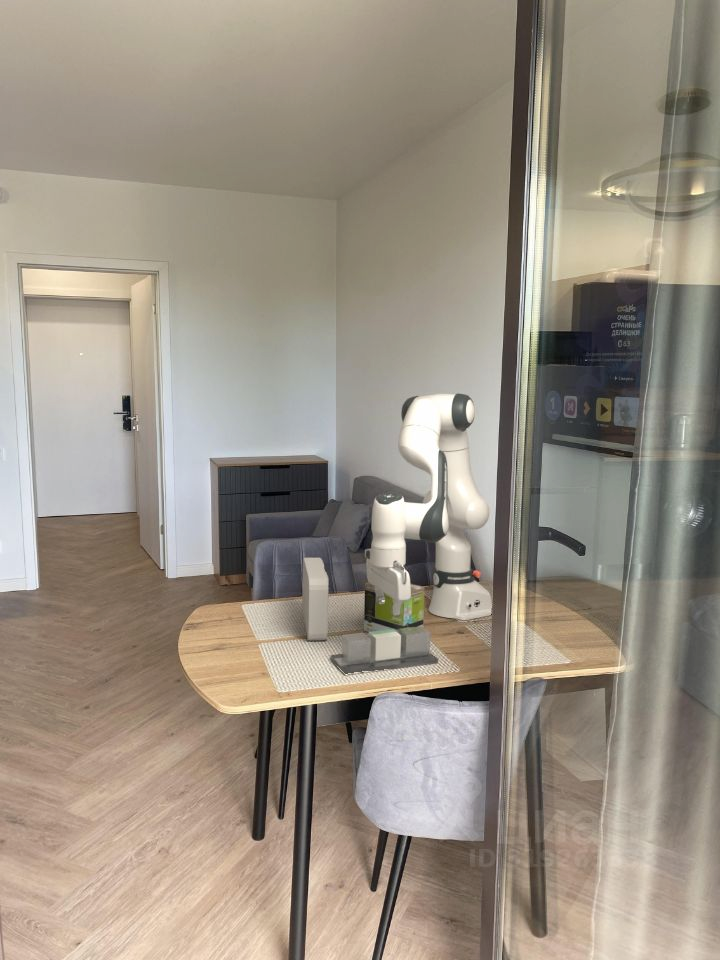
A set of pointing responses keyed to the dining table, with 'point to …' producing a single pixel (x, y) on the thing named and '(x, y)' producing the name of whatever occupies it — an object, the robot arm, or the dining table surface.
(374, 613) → the tea box
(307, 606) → the rounded white slab
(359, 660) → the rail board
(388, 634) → the block
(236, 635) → the dining table surface
